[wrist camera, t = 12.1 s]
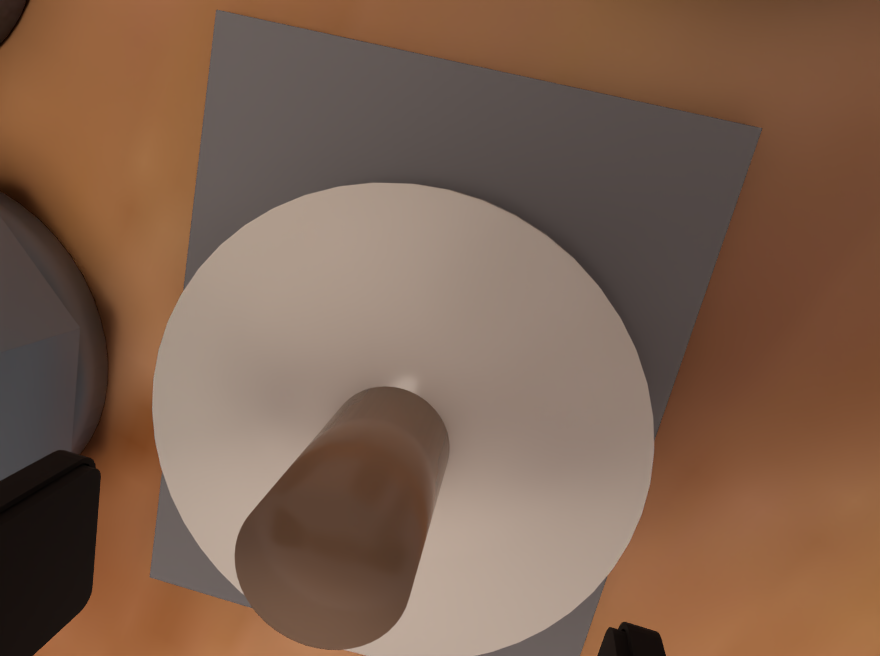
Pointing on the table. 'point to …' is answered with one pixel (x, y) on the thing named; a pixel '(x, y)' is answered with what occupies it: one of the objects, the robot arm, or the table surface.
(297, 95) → the mat
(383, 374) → the lid
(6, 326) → the bowl
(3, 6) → the grey cylinder
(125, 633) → the table surface
